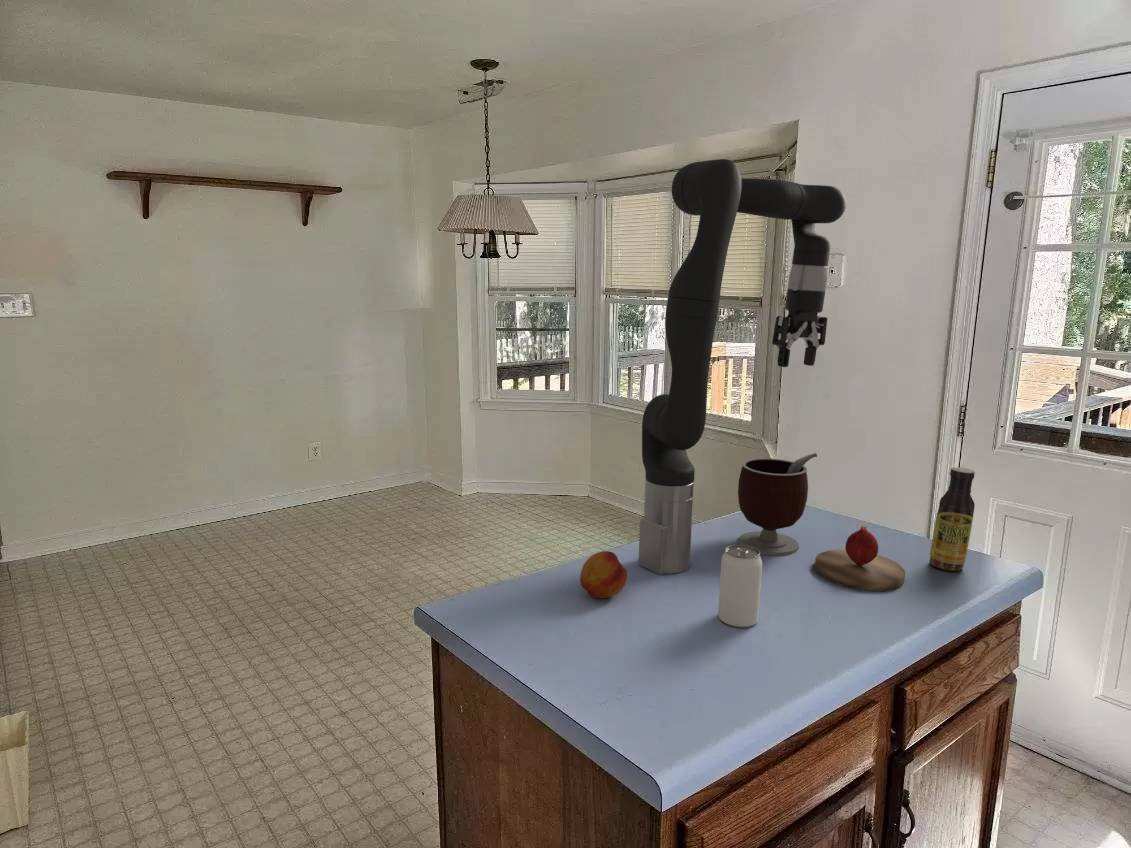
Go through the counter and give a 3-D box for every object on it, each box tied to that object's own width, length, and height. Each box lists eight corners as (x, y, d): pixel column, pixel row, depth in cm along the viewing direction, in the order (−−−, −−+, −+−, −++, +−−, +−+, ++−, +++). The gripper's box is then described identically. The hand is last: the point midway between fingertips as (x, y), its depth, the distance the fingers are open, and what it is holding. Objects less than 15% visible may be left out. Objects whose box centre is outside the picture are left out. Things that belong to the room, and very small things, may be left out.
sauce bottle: (929, 569, 141) (942, 471, 137) (927, 558, 146) (939, 463, 142) (967, 575, 138) (981, 475, 134) (963, 563, 144) (977, 467, 140)
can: (759, 614, 121) (764, 546, 119) (756, 631, 115) (761, 561, 113) (720, 607, 124) (724, 541, 121) (715, 624, 118) (719, 555, 115)
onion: (881, 572, 135) (885, 532, 134) (850, 571, 136) (854, 531, 134) (869, 560, 141) (873, 521, 139) (839, 559, 141) (843, 520, 140)
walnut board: (876, 598, 128) (877, 590, 128) (798, 569, 140) (798, 561, 140) (920, 576, 138) (921, 568, 137) (843, 550, 150) (843, 543, 150)
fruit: (622, 608, 123) (624, 564, 121) (576, 603, 125) (576, 559, 123) (628, 589, 130) (630, 547, 129) (584, 584, 132) (585, 542, 130)
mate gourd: (743, 556, 146) (750, 461, 142) (727, 532, 159) (733, 444, 155) (820, 557, 146) (829, 461, 142) (797, 533, 160) (805, 445, 155)
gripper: (812, 287, 156) (802, 362, 160) (769, 285, 148) (759, 364, 152) (843, 290, 150) (831, 367, 154) (799, 288, 142) (788, 370, 146)
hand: (795, 365), depth 153 cm, fingers open, 8 cm apart
